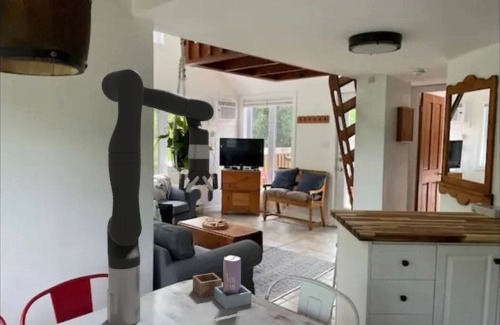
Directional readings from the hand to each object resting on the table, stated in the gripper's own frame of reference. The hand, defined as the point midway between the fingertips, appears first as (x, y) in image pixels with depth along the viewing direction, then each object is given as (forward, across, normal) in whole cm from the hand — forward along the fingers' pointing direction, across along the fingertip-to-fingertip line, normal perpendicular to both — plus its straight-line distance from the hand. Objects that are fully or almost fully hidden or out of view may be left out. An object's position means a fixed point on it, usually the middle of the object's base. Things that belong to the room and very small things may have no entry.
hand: (198, 201), depth 137 cm
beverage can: (+33, +7, -15) cm, 37 cm away
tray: (+33, +7, -15) cm, 37 cm away
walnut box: (+33, +2, -4) cm, 33 cm away
